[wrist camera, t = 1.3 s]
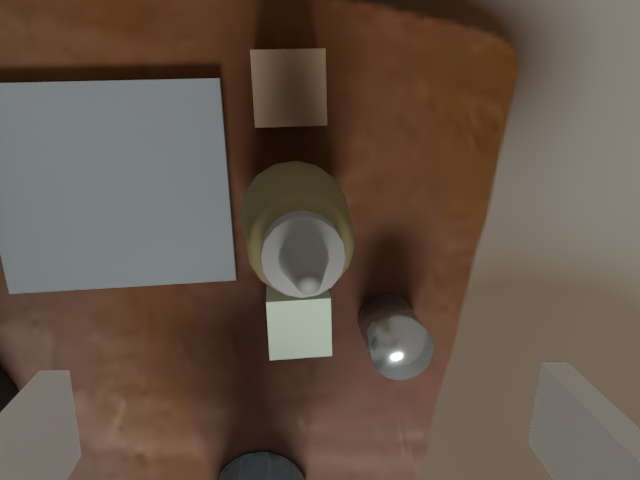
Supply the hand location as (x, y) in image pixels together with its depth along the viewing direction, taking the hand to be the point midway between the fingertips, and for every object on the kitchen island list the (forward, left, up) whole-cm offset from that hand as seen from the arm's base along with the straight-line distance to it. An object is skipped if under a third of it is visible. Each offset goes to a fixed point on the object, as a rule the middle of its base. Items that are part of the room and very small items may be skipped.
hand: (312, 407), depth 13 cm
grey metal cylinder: (+9, -11, -27) cm, 30 cm away
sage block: (+1, -9, -27) cm, 28 cm away
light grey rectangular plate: (-13, +2, -27) cm, 30 cm away
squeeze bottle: (+1, 0, -27) cm, 27 cm away
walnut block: (+1, +9, -27) cm, 28 cm away
